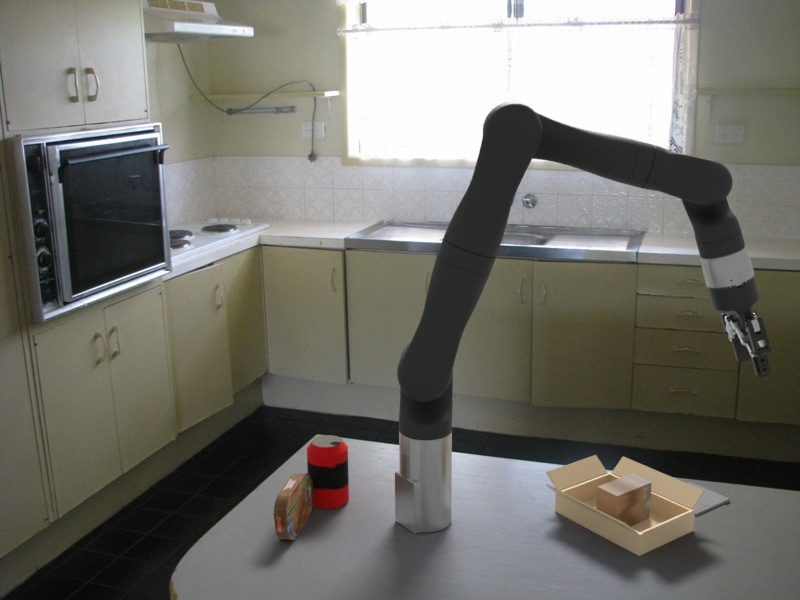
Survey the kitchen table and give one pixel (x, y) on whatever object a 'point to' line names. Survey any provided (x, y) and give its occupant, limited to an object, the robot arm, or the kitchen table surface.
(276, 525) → the tin
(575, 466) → the carton
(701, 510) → the mat
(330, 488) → the soda can
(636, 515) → the tan rectangular block
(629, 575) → the kitchen table surface
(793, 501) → the kitchen table surface
